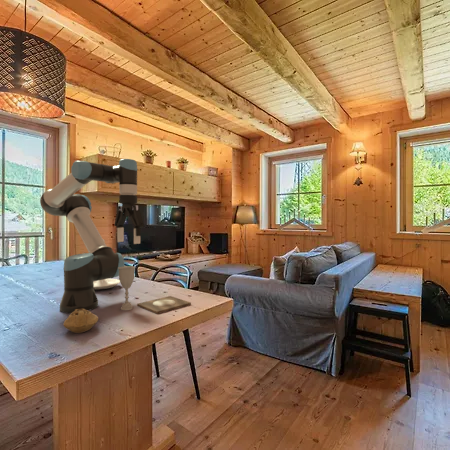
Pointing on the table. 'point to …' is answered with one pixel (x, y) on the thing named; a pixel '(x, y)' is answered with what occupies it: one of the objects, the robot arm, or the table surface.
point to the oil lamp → (80, 321)
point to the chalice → (126, 283)
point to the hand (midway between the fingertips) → (128, 242)
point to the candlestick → (105, 283)
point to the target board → (163, 304)
